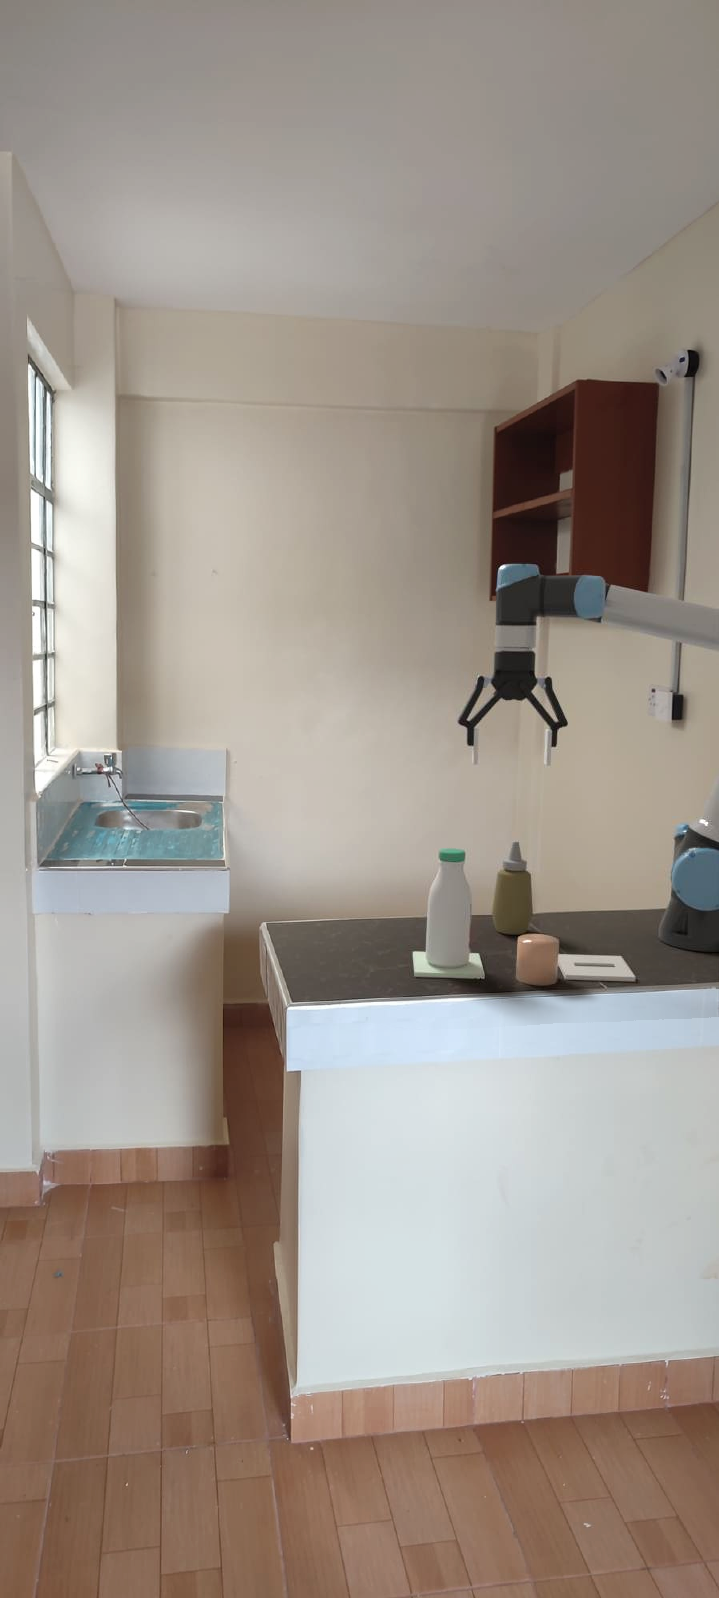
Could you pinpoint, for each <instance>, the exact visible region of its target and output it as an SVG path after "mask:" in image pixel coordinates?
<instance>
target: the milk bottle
mask: <svg viewBox="0 0 719 1598" xmlns="http://www.w3.org/2000/svg"><path fill="white" fill-rule="evenodd" d="M465 860H466V851H465V850H463V849H461V848H452V847H451V848H450V847H449V848H448V847H447V848H442V849H440V850H438V864H439V868H438V871H437V874H436V876H435V878H434V880H433V882H432V883H431V886H430V889H429V894H428V901H427V915H426V916H427V917H426V936H425V952H426V959H427V961H428V962H430V963H432V964H435V965H439V966H449V967H453V966H461V965H465V964H467V963H468V961H469V954H470V953H471V931H472V930H471V929H472V910H473V909H472V904H473V903H472V902H473V901H472V892H471V888H470V885H469V883H468V881H467V878H466V874H465V870H464V866H465V865H464V864H465V863H466V861H465Z"/></svg>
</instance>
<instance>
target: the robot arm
mask: <svg viewBox="0 0 719 1598" xmlns="http://www.w3.org/2000/svg"><path fill="white" fill-rule="evenodd" d="M496 580H497V581H496V589H495V631H494V633H495V634H494V635H495V636H494V647H495V648H497V650H495V651H494V654H493V655H494V657H493V674H492V676H489V677H488V676H483V675H480V674H479V675H477V676H476V680H475V684H474V685H475V687H474V688H473V690H472V692H471V694H470V695H469V697H468V700H467V701H466V703H465V706H463V708H462V711H461V712H460V715H459V717H458V718H457V723H458V725H459V726H463V727H464V728H466V744H467V746H468V747H472V749H471V750H472V751H471V763H472V765H478V757H479V755H478V753H479V728H477V725H478V724H479V723H480V722H481V721H482V720H483V718H484V717H485V716H486V715H487V714H488V713H489V712H490V711H491V710H492V708H493V707H494V706H495V705H496V704H497V703H498V702H499V701H500V700H501V699H502V700H503V701H504V700H505V701H520V702H521V701H524V700H526V699H527V701H528V702H529V703H530V704H531V706H532V707H533V708H534V710H535V711H536V712H537V713H538V715H540V717H541V718H542V720H544V722H545V723H546V725H548V727H549V728H546V729H545V730H544V751H543V752H544V756H543V764H544V765H546V766H551V762H552V758H551V757H552V748H556V747H557V744H558V731H559V730H560V729H561V728H565V727H567V726H568V725H569V722H568V719H567V718H566V715H565V713H564V711H563V708H562V706H561V704H560V702H559V700H558V698H557V695H556V694H555V693H556V692H555V691H554V689H553V679H552V677H550V676H548V675H544V676H542V677H536V673H535V672H536V653H535V650H534V651H533V649H535V648H536V647H537V620H538V618H563V619H567V618H568V619H578V620H583V621H589V622H592V623H597V624H601V625H604V626H605V625H607V626H611V627H615V628H618V629H622V630H626V631H627V630H628V631H632V632H635V633H639V634H644V635H648V636H652V637H655V638H656V637H657V638H661V639H664V640H670V641H673V642H676V643H677V642H678V643H681V644H682V643H683V644H687V645H690V646H695V647H699V648H702V649H706V650H711V651H714V652H715V651H716V652H719V608H716V607H712V606H708V605H703V604H700V603H695V602H691V601H685V600H681V599H677V598H673V597H668V596H663V595H659V594H654V593H650V592H647V591H646V592H645V591H641V590H636V589H632V588H628V587H623V586H619V585H614V584H610V583H606V581H605V579H604V577H602V576H600V575H599V576H598V575H590V574H589V575H588V574H583V575H544V574H540V567H539V566H538V565H537V564H532V563H525V564H524V563H507V564H502V565H501V566H500V567H499V568H498V570H497V579H496ZM489 684H491V685H492V687H493V689H494V692H493V693H492V694H491V695H490V697H489V698H488V699H487V700H486V701H485V703H484V704H483V705H481V707H480V708H479V709H478V710H477V711H476V713H475V714H474V715H473V716H471V718H470V719H469V720H468V718H469V717H470V715H471V713H472V711H473V709H474V708H475V706H476V704H477V702H478V699H479V697H480V696H481V695H482V692H483V689H486V688H488V685H489ZM537 684H538V685H539V687H540V689H543V690H544V692H545V694H546V695H545V696H546V697H547V700H548V702H549V703H550V704H549V705H550V706H551V708H552V711H553V713H554V715H555V716H556V719H557V720H556V721H555V720H554V719H553V718H552V716H551V715H550V713H549V712H548V711H547V710H546V709H545V707H544V706H543V705H542V704H541V702H540V701H539V700H538V698H537V697H536V696H535V694H534V693H533V692H532V691H533V690H534V689H535V687H536V686H537ZM675 828H676V829H675V833H674V835H673V839H674V840H673V841H674V846H673V847H674V848H673V858H672V859H673V860H672V867H671V869H670V882H671V886H670V887H671V889H670V899H669V902H668V905H667V907H666V909H665V911H664V913H663V916H662V918H661V921H660V923H659V926H658V938H659V940H660V941H661V942H663V943H665V944H667V945H669V946H671V947H675V948H679V949H682V950H683V949H684V950H689V951H695V952H696V951H697V952H705V953H706V952H708V953H716V952H717V953H719V772H718V773H717V776H716V778H715V782H714V784H713V786H712V789H711V791H710V794H709V797H708V798H707V801H706V804H705V806H704V809H703V812H702V815H701V817H699V818H698V819H696V820H694V821H691V822H690V823H680V824H678V825H677V826H676V827H675Z"/></svg>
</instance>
